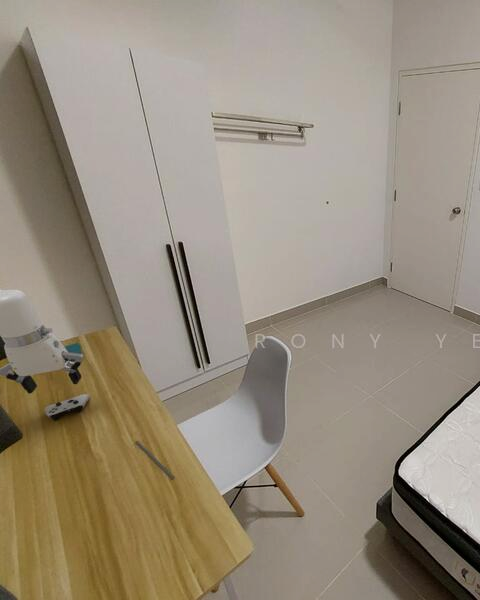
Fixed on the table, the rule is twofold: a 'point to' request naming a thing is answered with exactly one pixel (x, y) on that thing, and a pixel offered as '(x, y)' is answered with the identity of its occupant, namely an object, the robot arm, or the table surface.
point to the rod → (155, 460)
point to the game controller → (66, 406)
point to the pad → (73, 349)
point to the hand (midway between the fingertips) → (55, 385)
